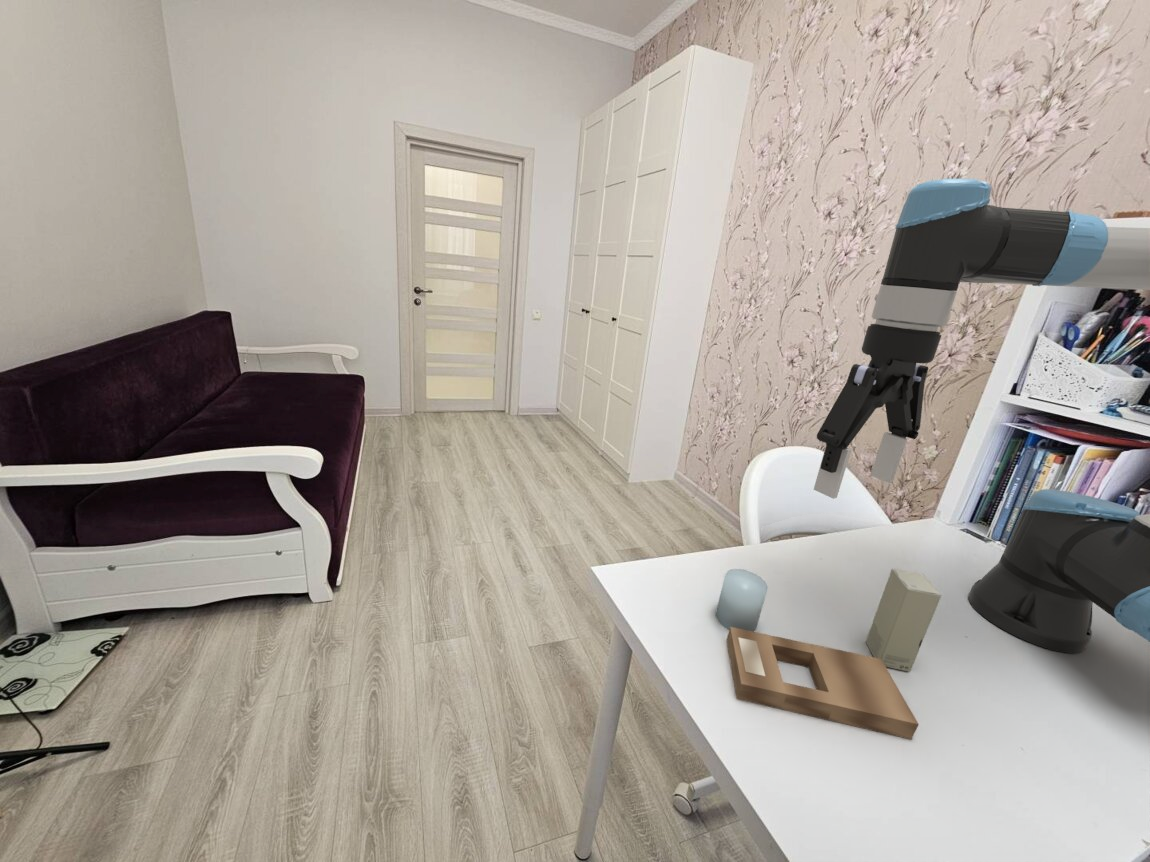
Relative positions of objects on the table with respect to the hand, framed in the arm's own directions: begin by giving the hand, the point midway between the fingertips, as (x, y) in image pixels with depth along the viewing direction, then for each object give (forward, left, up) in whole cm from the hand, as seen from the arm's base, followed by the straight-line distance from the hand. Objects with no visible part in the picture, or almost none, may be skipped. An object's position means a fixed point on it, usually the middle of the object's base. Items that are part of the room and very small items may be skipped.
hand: (854, 486), depth 63 cm
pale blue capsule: (+10, +1, -24) cm, 26 cm away
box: (-11, +2, -24) cm, 27 cm away
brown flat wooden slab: (+2, +11, -24) cm, 27 cm away
